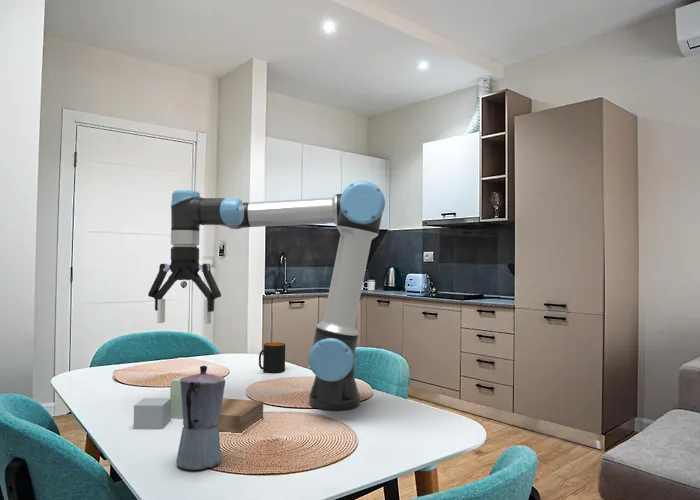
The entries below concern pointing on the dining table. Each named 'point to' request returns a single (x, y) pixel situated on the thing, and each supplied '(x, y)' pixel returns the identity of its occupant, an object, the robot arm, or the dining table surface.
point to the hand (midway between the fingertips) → (184, 323)
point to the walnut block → (239, 414)
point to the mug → (273, 358)
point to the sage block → (176, 398)
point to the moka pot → (200, 420)
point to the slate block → (152, 413)
